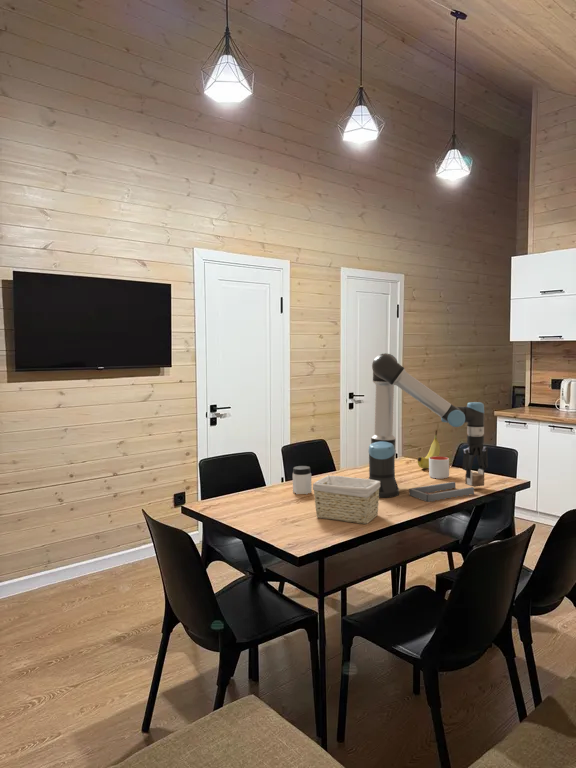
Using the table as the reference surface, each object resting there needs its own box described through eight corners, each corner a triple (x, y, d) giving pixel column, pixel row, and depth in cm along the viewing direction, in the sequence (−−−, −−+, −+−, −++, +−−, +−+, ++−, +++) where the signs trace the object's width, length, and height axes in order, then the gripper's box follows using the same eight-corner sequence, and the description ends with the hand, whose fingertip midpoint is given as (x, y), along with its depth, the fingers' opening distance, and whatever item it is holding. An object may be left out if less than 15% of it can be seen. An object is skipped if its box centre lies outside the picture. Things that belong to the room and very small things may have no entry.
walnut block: (474, 486, 264) (474, 476, 263) (465, 484, 269) (465, 473, 269) (484, 485, 266) (484, 474, 266) (475, 482, 271) (475, 472, 271)
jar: (314, 493, 266) (313, 468, 266) (297, 495, 264) (297, 470, 263) (306, 489, 275) (306, 465, 274) (291, 491, 272) (290, 466, 271)
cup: (425, 476, 296) (424, 457, 295) (440, 474, 300) (440, 455, 299) (437, 480, 287) (437, 460, 286) (453, 478, 291) (453, 458, 290)
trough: (428, 501, 247) (427, 495, 247) (409, 495, 259) (409, 488, 259) (473, 494, 258) (473, 487, 258) (453, 488, 270) (453, 481, 270)
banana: (423, 471, 307) (423, 435, 306) (414, 470, 311) (413, 434, 310) (442, 464, 325) (442, 429, 323) (433, 463, 328) (432, 429, 327)
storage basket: (382, 515, 230) (381, 479, 229) (368, 526, 216) (368, 488, 215) (328, 508, 241) (327, 474, 241) (312, 519, 227) (311, 482, 226)
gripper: (465, 437, 258) (465, 488, 260) (496, 434, 266) (496, 483, 268) (454, 435, 265) (453, 484, 267) (485, 432, 273) (484, 480, 275)
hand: (475, 483), depth 267 cm, fingers closed on walnut block, 6 cm apart
